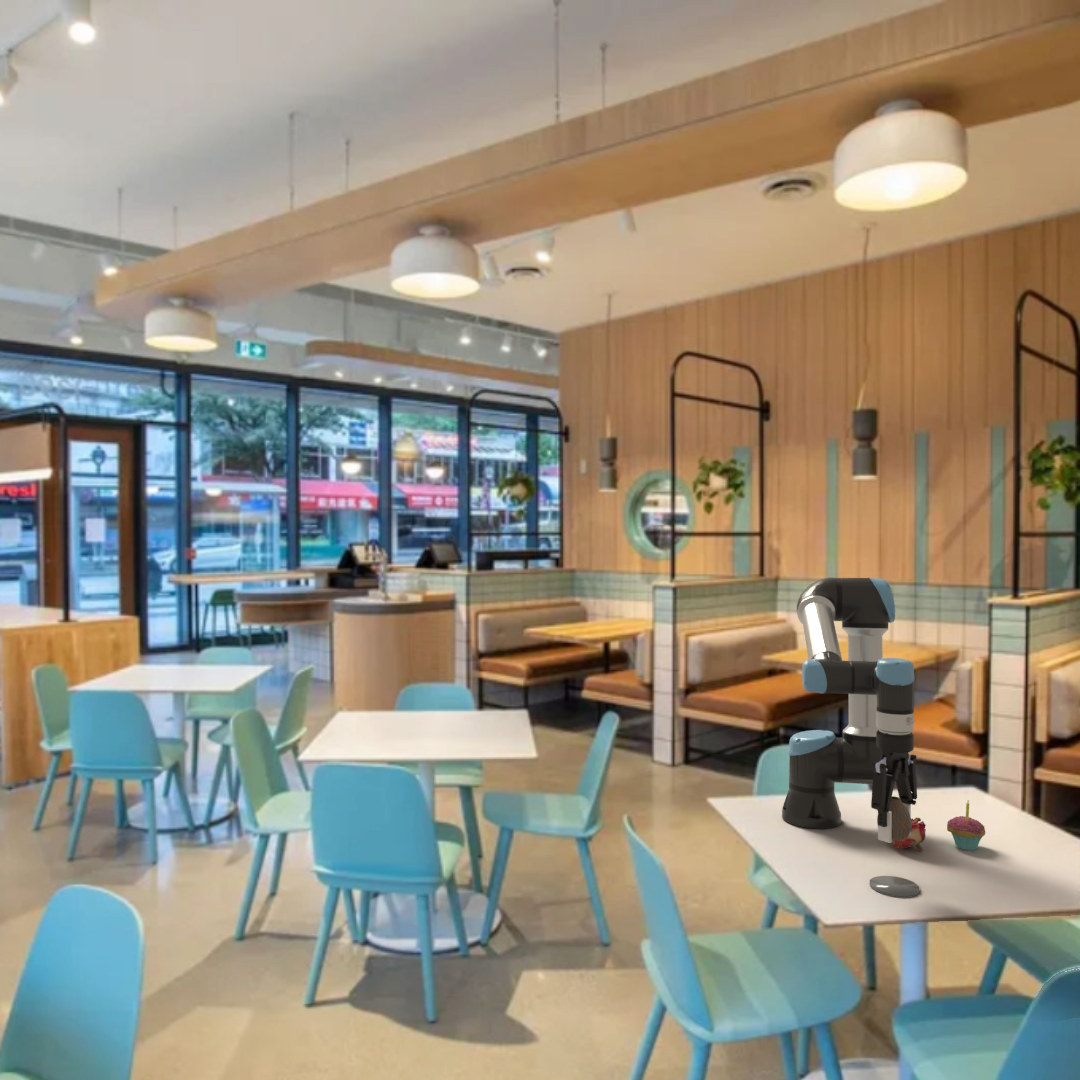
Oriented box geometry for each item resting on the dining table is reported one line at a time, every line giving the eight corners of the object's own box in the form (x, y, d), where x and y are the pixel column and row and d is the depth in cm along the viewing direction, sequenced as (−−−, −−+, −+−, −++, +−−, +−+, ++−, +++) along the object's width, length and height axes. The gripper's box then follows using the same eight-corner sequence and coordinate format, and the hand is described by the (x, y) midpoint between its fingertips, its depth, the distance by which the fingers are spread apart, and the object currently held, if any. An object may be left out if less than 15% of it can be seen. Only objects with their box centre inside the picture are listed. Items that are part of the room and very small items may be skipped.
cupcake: (989, 854, 210) (990, 804, 210) (951, 851, 212) (951, 801, 212) (979, 841, 218) (979, 793, 218) (942, 839, 220) (942, 791, 220)
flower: (937, 840, 214) (917, 810, 217) (937, 844, 206) (916, 813, 209) (902, 859, 217) (882, 828, 220) (900, 864, 209) (880, 832, 212)
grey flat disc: (860, 885, 191) (860, 883, 191) (885, 874, 197) (885, 872, 197) (903, 901, 183) (903, 898, 183) (928, 889, 189) (928, 886, 189)
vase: (871, 833, 193) (871, 793, 193) (901, 832, 194) (902, 792, 194) (886, 844, 186) (886, 803, 186) (917, 843, 187) (917, 802, 187)
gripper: (885, 741, 181) (885, 852, 181) (935, 727, 193) (934, 832, 193) (853, 734, 187) (852, 842, 187) (903, 721, 199) (902, 823, 199)
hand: (894, 836), depth 190 cm, fingers closed on vase, 7 cm apart
